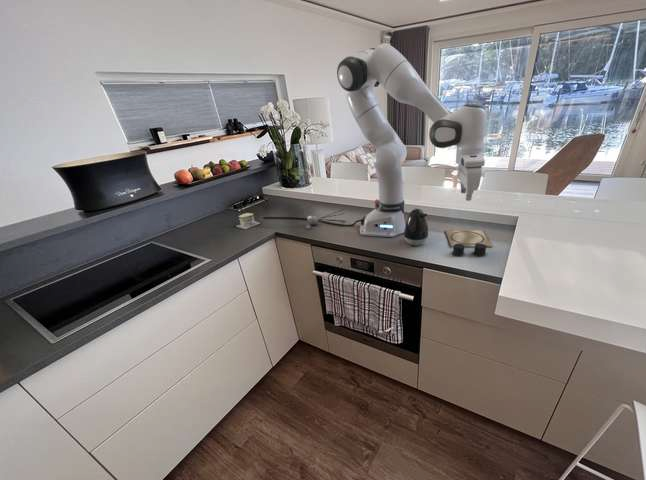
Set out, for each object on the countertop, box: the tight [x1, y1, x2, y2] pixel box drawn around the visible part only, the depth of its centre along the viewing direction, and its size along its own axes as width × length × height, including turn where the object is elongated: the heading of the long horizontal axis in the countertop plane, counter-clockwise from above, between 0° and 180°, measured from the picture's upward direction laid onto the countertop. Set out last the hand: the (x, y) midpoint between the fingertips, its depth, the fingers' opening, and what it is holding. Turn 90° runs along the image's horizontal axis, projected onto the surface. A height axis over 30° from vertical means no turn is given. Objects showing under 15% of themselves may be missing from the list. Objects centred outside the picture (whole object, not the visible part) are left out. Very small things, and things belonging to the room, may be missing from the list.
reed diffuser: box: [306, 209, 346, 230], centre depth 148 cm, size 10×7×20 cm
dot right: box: [473, 244, 487, 257], centre depth 110 cm, size 4×4×4 cm
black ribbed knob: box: [452, 244, 466, 257], centre depth 112 cm, size 4×4×4 cm
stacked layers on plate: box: [236, 212, 261, 230], centre depth 154 cm, size 10×9×6 cm
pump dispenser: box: [403, 208, 429, 246], centre depth 120 cm, size 10×10×15 cm
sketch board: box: [445, 229, 492, 248], centre depth 123 cm, size 16×16×1 cm
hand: (465, 196), depth 106 cm, fingers open, 8 cm apart
